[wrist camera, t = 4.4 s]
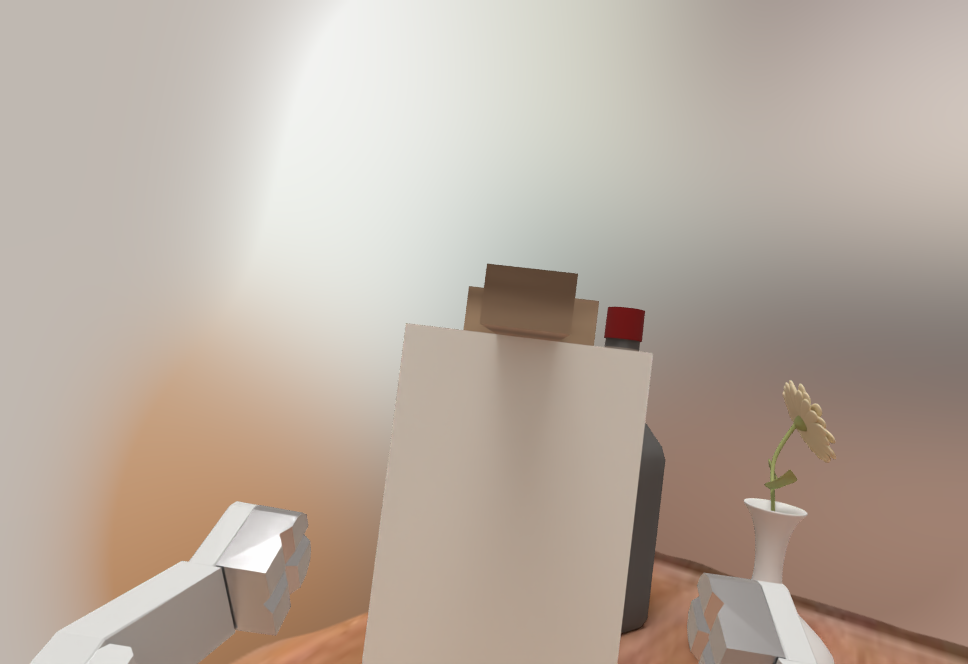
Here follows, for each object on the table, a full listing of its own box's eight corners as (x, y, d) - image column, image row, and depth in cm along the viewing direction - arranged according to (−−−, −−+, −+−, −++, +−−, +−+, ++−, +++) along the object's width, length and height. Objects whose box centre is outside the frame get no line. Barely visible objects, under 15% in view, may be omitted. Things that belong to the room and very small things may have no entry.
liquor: (595, 645, 50) (635, 303, 51) (525, 601, 57) (561, 302, 58) (658, 624, 56) (693, 316, 57) (586, 587, 63) (618, 314, 64)
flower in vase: (830, 726, 42) (865, 387, 43) (673, 663, 49) (706, 368, 49) (838, 659, 53) (866, 389, 54) (708, 615, 59) (735, 374, 60)
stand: (590, 892, 27) (653, 353, 27) (338, 841, 28) (405, 323, 28) (567, 676, 44) (605, 354, 45) (415, 650, 45) (455, 336, 46)
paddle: (632, 341, 19) (641, 265, 19) (420, 316, 19) (429, 242, 19) (580, 349, 38) (585, 312, 39) (477, 337, 39) (482, 300, 39)
